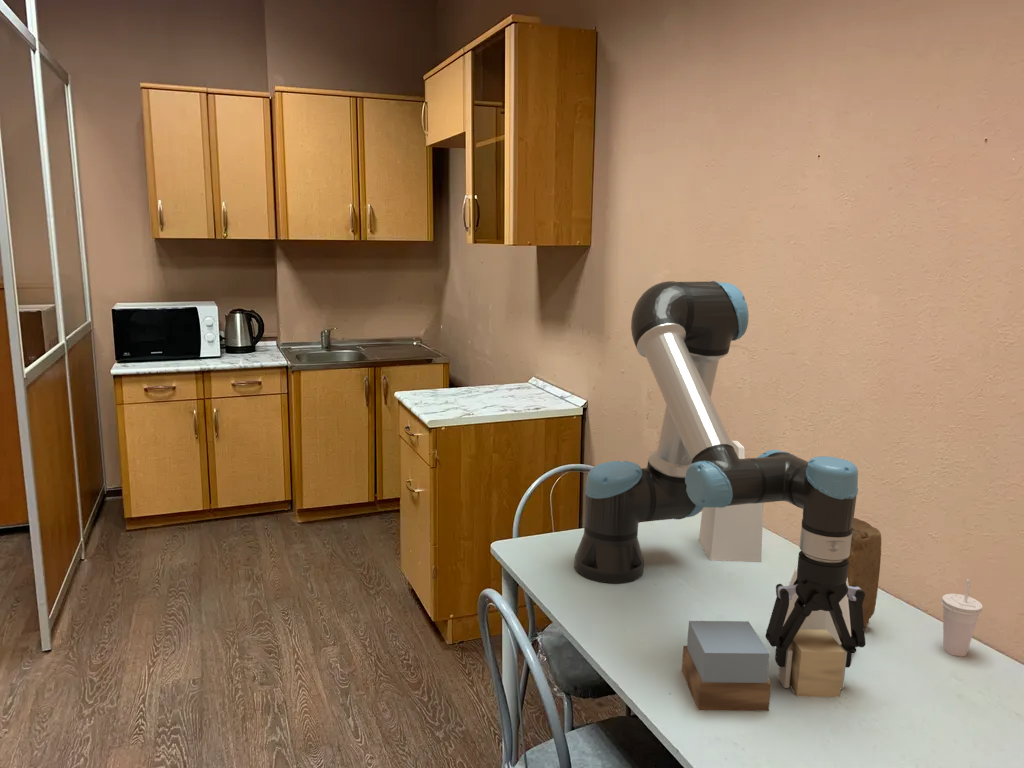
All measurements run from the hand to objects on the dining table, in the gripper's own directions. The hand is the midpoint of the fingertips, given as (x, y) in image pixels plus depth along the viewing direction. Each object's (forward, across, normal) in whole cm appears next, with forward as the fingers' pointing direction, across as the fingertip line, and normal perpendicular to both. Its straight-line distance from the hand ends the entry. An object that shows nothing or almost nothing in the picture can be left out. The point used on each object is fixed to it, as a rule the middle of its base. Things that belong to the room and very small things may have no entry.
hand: (810, 683), depth 128 cm
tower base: (+1, -15, -2) cm, 15 cm away
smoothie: (0, +31, +11) cm, 33 cm away
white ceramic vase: (0, +6, +13) cm, 15 cm away
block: (0, +15, +22) cm, 27 cm away
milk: (0, +3, +55) cm, 55 cm away
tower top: (-4, -15, -2) cm, 16 cm away
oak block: (0, 0, 0) cm, 0 cm away
